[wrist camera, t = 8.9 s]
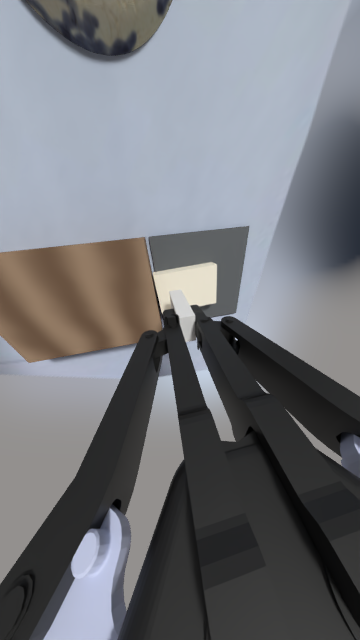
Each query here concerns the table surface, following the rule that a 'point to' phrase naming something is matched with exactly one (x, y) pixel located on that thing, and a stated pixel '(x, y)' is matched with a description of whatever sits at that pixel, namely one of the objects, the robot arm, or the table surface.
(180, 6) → the table surface
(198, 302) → the tile
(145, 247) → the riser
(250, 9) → the table surface
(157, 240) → the mat
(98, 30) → the decorative bowl
